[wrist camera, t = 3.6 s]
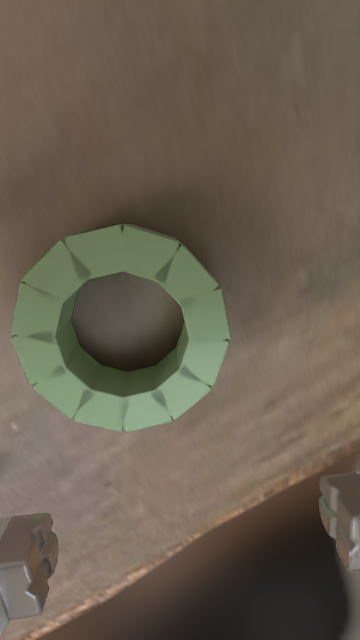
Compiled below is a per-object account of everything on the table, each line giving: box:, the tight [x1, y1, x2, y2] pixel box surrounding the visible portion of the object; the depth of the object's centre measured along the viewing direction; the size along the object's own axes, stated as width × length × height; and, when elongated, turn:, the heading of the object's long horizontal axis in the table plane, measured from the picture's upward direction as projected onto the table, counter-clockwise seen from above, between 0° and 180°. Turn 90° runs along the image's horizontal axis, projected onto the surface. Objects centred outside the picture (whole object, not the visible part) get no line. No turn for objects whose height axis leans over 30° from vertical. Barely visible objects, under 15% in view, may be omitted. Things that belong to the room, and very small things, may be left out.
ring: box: [10, 224, 231, 432], centre depth 18 cm, size 10×10×3 cm
